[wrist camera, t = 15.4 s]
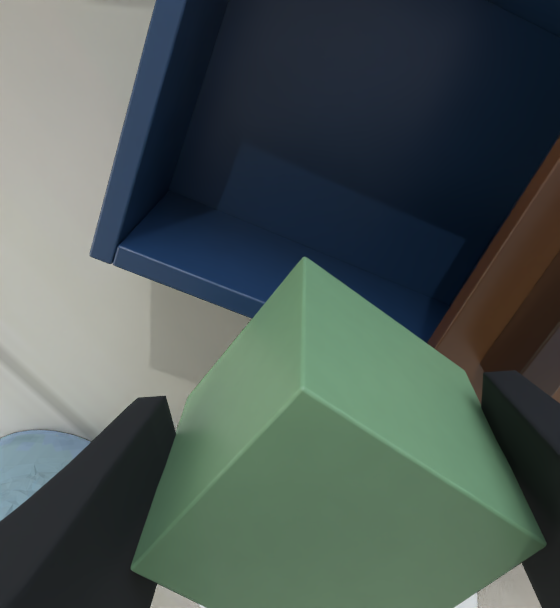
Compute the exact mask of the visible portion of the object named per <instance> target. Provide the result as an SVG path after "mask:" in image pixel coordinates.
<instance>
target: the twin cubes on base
mask: <svg viewBox="0 0 560 608" xmlns="http://www.w3.org/2000/svg"><path fill="white" fill-rule="evenodd" d="M199 606H200V608H206V607H204V606H202V605H200V604H199ZM454 608H477V593H475V594H474V595H472V596H471V597H469V598H468V599H466V600H465V601H463V602H462V603H460V604H459V605H457V606H456V607H454Z"/></svg>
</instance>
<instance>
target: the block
mask: <svg viewBox="0 0 560 608" xmlns="http://www.w3.org/2000/svg"><path fill="white" fill-rule="evenodd" d="M546 545H547V543H546V541H545V538H544V536H543V534H542V532H541V530H540V528H539V526H538V524H537V522H536V520H535V517H534V515H533V513H532V511H531V509H530V507H529V505H528V503H527V501H526V498H525V496H524V494H523V492H522V490H521V488H520V486H519V484H518V482H517V480H516V477H515V475H514V473H513V471H512V469H511V467H510V465H509V463H508V461H507V459H506V457H505V455H504V453H503V451H502V450H501V448H500V446H499V444H498V442H497V440H496V438H495V436H494V434H493V432H492V430H491V428H490V425H489V423H488V421H487V419H486V417H485V415H484V413H483V411H482V408H481V404H480V402H479V399H478V397H477V395H476V393H475V391H474V389H473V387H472V385H471V383H470V381H469V378H468V376H467V374H466V372H465V370H463V369H462V368H461V367H459V366H458V365H456V364H455V363H454V362H452V361H451V360H449V359H448V358H447V357H445V356H444V355H442V354H441V353H440V352H438V351H437V350H435V349H434V348H433V347H431V346H430V345H428V344H427V343H426V342H424V341H423V340H421V339H420V338H419V337H417V336H416V335H415V334H413V333H412V332H410V331H409V330H408V329H406V328H405V327H403V326H402V325H401V324H399V323H398V322H396V321H395V320H394V319H392V318H391V317H389V316H388V315H387V314H385V313H384V312H382V311H381V310H380V309H378V308H377V307H375V306H374V305H373V304H371V303H370V302H368V301H367V300H366V299H364V298H363V297H361V296H360V295H359V294H357V293H356V292H355V291H353V290H352V289H350V288H349V287H348V286H346V285H345V284H343V283H342V282H341V281H339V280H338V279H336V278H335V277H334V276H332V275H331V274H329V273H328V272H327V271H325V270H324V269H322V268H321V267H320V266H318V265H317V264H315V263H314V262H313V261H311V260H310V259H308V258H307V257H303V258H302V259H301V260H300V261H299V262H298V264H297V265H296V266H295V267H294V268H293V270H292V271H291V272H290V273H289V275H288V276H287V277H286V278H285V279H284V281H283V282H282V283H281V284H280V286H279V287H278V288H277V289H276V290H275V292H274V293H273V294H272V295H271V296H270V298H269V299H268V300H267V301H266V303H265V304H264V305H263V306H262V307H261V309H260V310H259V311H258V312H257V313H256V315H255V316H254V317H253V318H252V320H251V321H250V322H249V323H248V324H247V326H246V327H245V328H244V329H243V330H242V332H241V333H240V334H239V335H238V337H237V338H236V339H235V340H234V341H233V343H232V344H231V345H230V346H229V347H228V349H227V350H226V351H225V352H224V354H223V355H222V356H221V357H220V358H219V360H218V361H217V362H216V363H215V365H214V366H213V367H212V368H211V369H210V371H209V372H208V373H207V374H206V375H205V377H204V378H203V379H202V380H201V382H200V383H199V384H198V385H197V386H196V388H195V389H194V390H193V391H192V392H191V394H190V395H189V396H188V398H187V401H186V404H185V407H184V410H183V413H182V416H181V419H180V422H179V425H178V427H177V430H176V436H175V439H174V442H173V445H172V448H171V451H170V454H169V457H168V460H167V463H166V466H165V469H164V471H163V474H162V476H161V479H160V482H159V484H158V487H157V490H156V493H155V496H154V499H153V502H152V505H151V508H150V511H149V513H148V516H147V519H146V522H145V525H144V528H143V531H142V534H141V537H140V540H139V543H138V546H137V549H136V552H135V555H134V558H133V561H132V564H131V570H132V571H133V572H135V573H137V574H139V575H141V576H143V577H145V578H147V579H149V580H151V581H153V582H155V583H157V584H159V585H161V586H163V587H165V588H167V589H169V590H171V591H174V592H176V593H178V594H180V595H182V596H184V597H186V598H188V599H190V600H192V601H194V602H196V603H198V604H200V605H202V606H204V607H206V608H454V607H456V606H457V605H459V604H460V603H462V602H463V601H465V600H466V599H468V598H469V597H471V596H472V595H474V594H475V593H477V592H478V591H480V590H481V589H483V588H484V587H486V586H487V585H489V584H490V583H492V582H493V581H495V580H496V579H498V578H499V577H501V576H502V575H504V574H505V573H507V572H508V571H510V570H511V569H513V568H514V567H516V566H517V565H519V564H520V563H522V562H523V561H525V560H526V559H528V558H529V557H531V556H532V555H534V554H535V553H537V552H538V551H540V550H541V549H543V548H544V547H546Z"/></svg>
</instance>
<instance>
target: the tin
mask: <svg viewBox="0 0 560 608" xmlns="http://www.w3.org/2000/svg"><path fill="white" fill-rule="evenodd" d="M559 136H560V0H156V2H155V6H154V10H153V14H152V17H151V21H150V25H149V29H148V33H147V36H146V40H145V44H144V48H143V52H142V56H141V59H140V63H139V67H138V71H137V75H136V78H135V82H134V86H133V90H132V94H131V98H130V101H129V105H128V109H127V113H126V117H125V120H124V124H123V128H122V132H121V136H120V140H119V143H118V147H117V151H116V155H115V159H114V162H113V166H112V170H111V174H110V178H109V181H108V185H107V189H106V193H105V197H104V201H103V204H102V208H101V212H100V216H99V220H98V223H97V227H96V231H95V235H94V239H93V243H92V246H91V250H90V256H91V257H93V258H95V259H98V260H101V261H103V262H106V263H108V264H112V263H113V265H114V266H117V267H119V268H122V269H124V270H127V271H130V272H132V273H135V274H137V275H140V276H143V277H145V278H148V279H150V280H153V281H156V282H158V283H161V284H163V285H166V286H169V287H171V288H174V289H176V290H179V291H182V292H184V293H187V294H189V295H192V296H195V297H197V298H200V299H202V300H205V301H208V302H210V303H213V304H215V305H218V306H221V307H223V308H226V309H228V310H231V311H234V312H236V313H239V314H241V315H244V316H247V317H249V318H253V317H254V316H255V315H256V313H257V312H258V311H259V310H260V309H261V307H262V306H263V305H264V304H265V303H266V301H267V300H268V299H269V298H270V296H271V295H272V294H273V293H274V292H275V290H276V289H277V288H278V287H279V286H280V284H281V283H282V282H283V281H284V279H285V278H286V277H287V276H288V275H289V273H290V272H291V271H292V270H293V268H294V267H295V266H296V265H297V264H298V262H299V261H300V260H301V259H302V258H303V257H307V258H308V259H310V260H311V261H313V262H314V263H315V264H317V265H318V266H320V267H321V268H322V269H324V270H325V271H327V272H328V273H329V274H331V275H332V276H334V277H335V278H336V279H338V280H339V281H341V282H342V283H343V284H345V285H346V286H348V287H349V288H350V289H352V290H353V291H355V292H356V293H357V294H359V295H360V296H361V297H363V298H364V299H366V300H367V301H368V302H370V303H371V304H373V305H374V306H375V307H377V308H378V309H380V310H381V311H382V312H384V313H385V314H387V315H388V316H389V317H391V318H392V319H394V320H395V321H396V322H398V323H399V324H401V325H402V326H403V327H405V328H406V329H408V330H409V331H410V332H412V333H413V334H415V335H416V336H417V337H419V338H420V339H421V340H423V341H424V342H426V343H427V342H428V341H429V339H430V338H431V336H432V334H433V333H434V331H435V330H436V328H437V327H438V325H439V323H440V322H441V320H442V319H443V317H444V316H445V314H446V313H447V311H448V309H449V308H450V306H451V305H452V303H453V302H454V300H455V299H456V297H457V295H458V294H459V292H460V291H461V289H462V288H463V286H464V285H465V283H466V281H467V280H468V278H469V277H470V275H471V274H472V272H473V270H474V269H475V267H476V266H477V264H478V263H479V261H480V260H481V258H482V256H483V255H484V253H485V252H486V250H487V249H488V247H489V246H490V244H491V242H492V241H493V239H494V238H495V236H496V235H497V233H498V231H499V230H500V228H501V227H502V225H503V224H504V222H505V221H506V219H507V217H508V216H509V214H510V213H511V211H512V210H513V208H514V207H515V205H516V203H517V202H518V200H519V199H520V197H521V196H522V194H523V193H524V191H525V189H526V188H527V186H528V185H529V183H530V182H531V180H532V178H533V177H534V175H535V174H536V172H537V171H538V169H539V168H540V166H541V164H542V163H543V161H544V160H545V158H546V157H547V155H548V154H549V152H550V150H551V149H552V147H553V146H554V144H555V143H556V141H557V139H558V138H559Z"/></svg>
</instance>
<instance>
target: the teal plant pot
mask: <svg viewBox="0 0 560 608" xmlns="http://www.w3.org/2000/svg"><path fill="white" fill-rule="evenodd" d="M90 443H91V442H90V441H88V440H86V439H84V438H81V437H78V436H75V435H72V434H67V433H62V432H57V431H48V430H29V431H23V432H16V433H13V434H10V435H7V436H4V437H2V438H1V439H0V521H1V520H2V519H4V518H5V517H6V516H8V515H9V514H10V513H11V512H13V511H14V510H15V509H16V508H18V507H19V506H20V505H21V504H22V503H24V502H25V501H26V500H27V499H29V498H30V497H31V496H32V495H33V494H34V493H35V492H37V491H38V490H39V489H40V488H41V487H42V486H43V485H45V484H46V483H47V482H48V481H49V480H50V479H51V478H53V477H54V476H55V475H56V474H57V473H58V472H59V471H61V470H62V469H63V468H64V467H65V466H66V465H67V464H69V463H70V462H71V461H72V460H73V459H74V458H75V457H76V456H77V455H78V454H79V453H80V452H81V451H82V450H83V449H84V448H85V447H87V446H88V445H89V444H90Z"/></svg>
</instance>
